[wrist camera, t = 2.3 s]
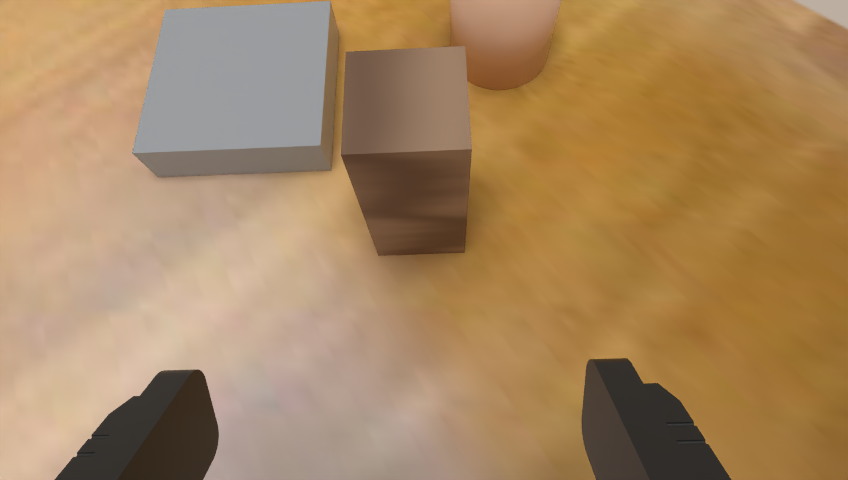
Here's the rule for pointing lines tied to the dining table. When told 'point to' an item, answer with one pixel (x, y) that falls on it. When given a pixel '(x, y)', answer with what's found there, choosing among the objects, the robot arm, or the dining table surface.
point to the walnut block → (409, 146)
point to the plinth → (241, 91)
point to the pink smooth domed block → (503, 39)
